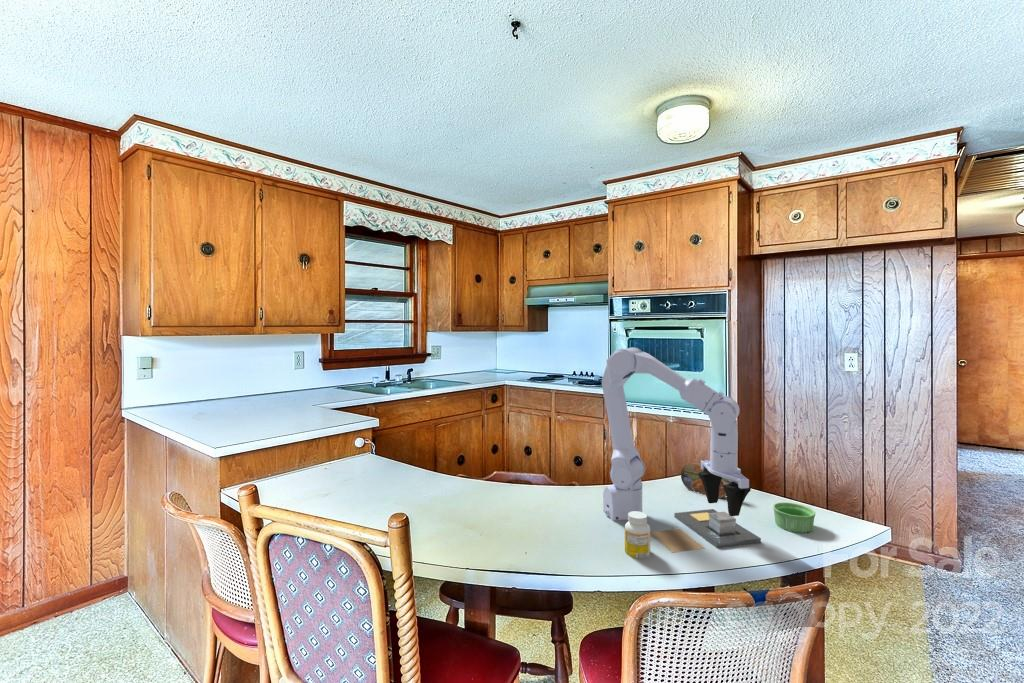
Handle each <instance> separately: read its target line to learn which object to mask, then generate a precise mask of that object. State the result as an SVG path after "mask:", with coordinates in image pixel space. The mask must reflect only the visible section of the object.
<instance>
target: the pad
mask: <svg viewBox="0 0 1024 683" xmlns="http://www.w3.org/2000/svg"><path fill="white" fill-rule="evenodd" d="M650 536H652V537H654V538H655V539H656V540H657V541H658V542H659V543H660V544H662V546H664V547H665V548H666V549H667V550H668V551H669V552H671V553H679V552H686V551H687V552H688V551H697V550H705V549H706V547H704V546H703V545H702V544H700V542H698V541H696V539H694V538H692V537H691V536H690V535H689V534H688V533H686V532H685V531H683V530H682V529H681V528H676V529H675V528H674V529H668V530H658V531H657V530H656V531H650Z"/></svg>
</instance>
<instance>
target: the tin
mask: <svg viewBox="0 0 1024 683" xmlns="http://www.w3.org/2000/svg"><path fill="white" fill-rule="evenodd" d="M703 471H704V470H703V469H701V463H699V462H691V463H687V464H685V465H684V466H683V467H682V469H681V471H680V479H681V482H682V484H683V486H684V487H685V488H686V489H687V490H689V491H690V490H691V491H690V492H693V491H695V492H694V493H697V492H699V493H698V494H701V493H702V494H701V495H705V494H706V492H705V488H704V485H703V483H702V480H701V478H700V477H699V475H698V473H699V472H703ZM726 484H731V482H730V481H728V480H726V479H724V478H722V479H721V483H720V487H719V497H718V499H721V498H725V497H727V496H726V492H725V490H724V487H723V485H726Z"/></svg>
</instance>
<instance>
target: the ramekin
mask: <svg viewBox="0 0 1024 683" xmlns="http://www.w3.org/2000/svg"><path fill="white" fill-rule="evenodd" d="M772 508H773V514H774V522H775V524H776V525H777V526H778V527H779V528H780V529H782V530H785V531H788V532H791V531H792V533H797V532H798V533H799V534H805V533H806V534H807V532H808V533H810V532H812V531H813V529H814V523H815V517H816V511H815V510H814V509H812V508H810V507H808V506H807V505H803V504H799V503H793V502H784V501H783V502H777V503H774V504H773V507H772Z"/></svg>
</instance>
